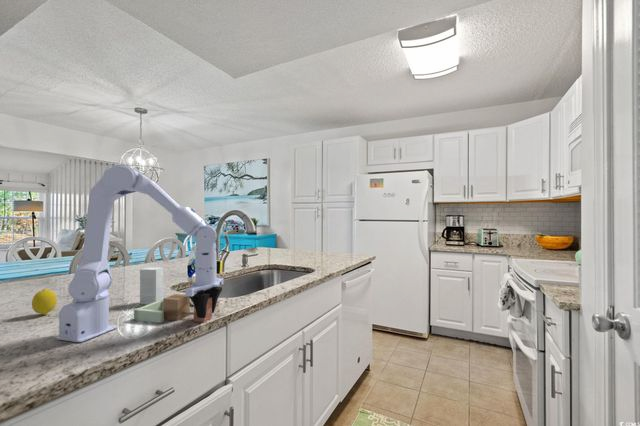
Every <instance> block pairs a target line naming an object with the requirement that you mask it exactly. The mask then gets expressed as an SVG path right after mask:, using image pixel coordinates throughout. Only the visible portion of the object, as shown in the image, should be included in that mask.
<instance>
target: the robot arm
mask: <svg viewBox="0 0 640 426" xmlns="http://www.w3.org/2000/svg"><path fill="white" fill-rule="evenodd" d="M136 192H137V193H140V194H144V195H147V196H149V197H150V198H152V199H153V201H155V202H156V203H157V204H159V205H160V206H161V207H163V208H164V209H165V211H167V212H169V213H170V214H171V216H172V219H171V220H172V222H173V223H174V224H175V225H177V227H179V228H180V229H181V230H183V232H185V233H186V234H187V235H188V236H189V237H193V240H194V242H195V244H196V245H195V253H194V257H195V260H194V266H195V268H194V270H195V272H194V273H195V282H194V283H193V284H192V285H190V286H189V287H187V288H185V295H186V296H189V297H190V299H191V300H192V302H193V304H194V305H193V307H194V306H195V309H196V313H197V317H198V318H205V316H206V309H207V302H208V298H209V297H212V314H214V313H215V311H216V306H217V302H218V299H219V297H220V295H221V293H222V291H223V287H222V285H224V277H218V276H217V269H218V268H217V267H218V266H217V263H218V262H217V244H216V241H217V238H218V235H217V231H216V229H214V227H213V226H212V225H208V224H209V222H210V221H209V222H208V220H204V219H203V218H202V217H201V216H199V215H198V214H197V213H196V212H197V210H196V209H195V208H194V207H192V208H191V207H189V206H181V205H180V204H179V203H178V202H176V201H175V200H174V199H173V198H172V197H171V196H170V195H169V194H168V193H167V192H166V191H165V190H164V189H162V188H161V186H159V185H158V184H157V183H156V182H154V181H153V180H151V179H150V178H148V177H147V176H146V175H144V174H143V173H142V172H140V171H138V170H135V169H133V168H132V167H131V166H129V165H127V164H116V165H114V166H112V167H110V168H108V169H105V170H104V172H103V175H102V176H101V178H100V179H99V180H98V181H97V182H96V183H95V184H94V186H93V187H92V188H91V189H90V190H89V196H88V205H87V213H86V222H85V230H84V239H83V246H82V247H83V249H82V257H81V261H80V263H79V264H78V266H77V267H76V268H75V271H74V276H73V278H72V279H71V281H70V282H69V284H68V288H67V289H68V294H69V296H71V298H72V299H73V300H72V301H71V302H70V303H68V304H66V305H63V306H62V307H61V309H60V310H59V314H58V322H59V323H58V336H56V340H61V341H67V342H68V341H69V342H73V343H74V342H75V343H83V342H85V341H88V340H90V339H94V338H95V337H98V336H100V335H103V334H105V333H107V332H110V331H113V330H115V329H118V325H112V324H109V323H110V316H109V315H110V294H109V291H108V289H109V288H110V287H111V286H112V282H113V276H112V274H111V272H110V267H111V264H110V263H109V261H108V255H109V245H110V237H111V229H112V218H113V213H114V212H113V211H114V210H113V209H114V202H115V201H117V200H119V199H120V198H122V197H124V196H125V195H130V194H134V193H136Z"/></svg>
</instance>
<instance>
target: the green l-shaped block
mask: <svg viewBox="0 0 640 426" xmlns="http://www.w3.org/2000/svg"><path fill="white" fill-rule="evenodd" d="M133 320H134V321H138V322H148V323H156V324H159V323H160V324H162V323H163V322H165V319H164V311H163V300H160V301H157V302H154V303H151V304H145V305H144V306H141V307H138V308H135V309H134V310H133Z"/></svg>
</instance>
